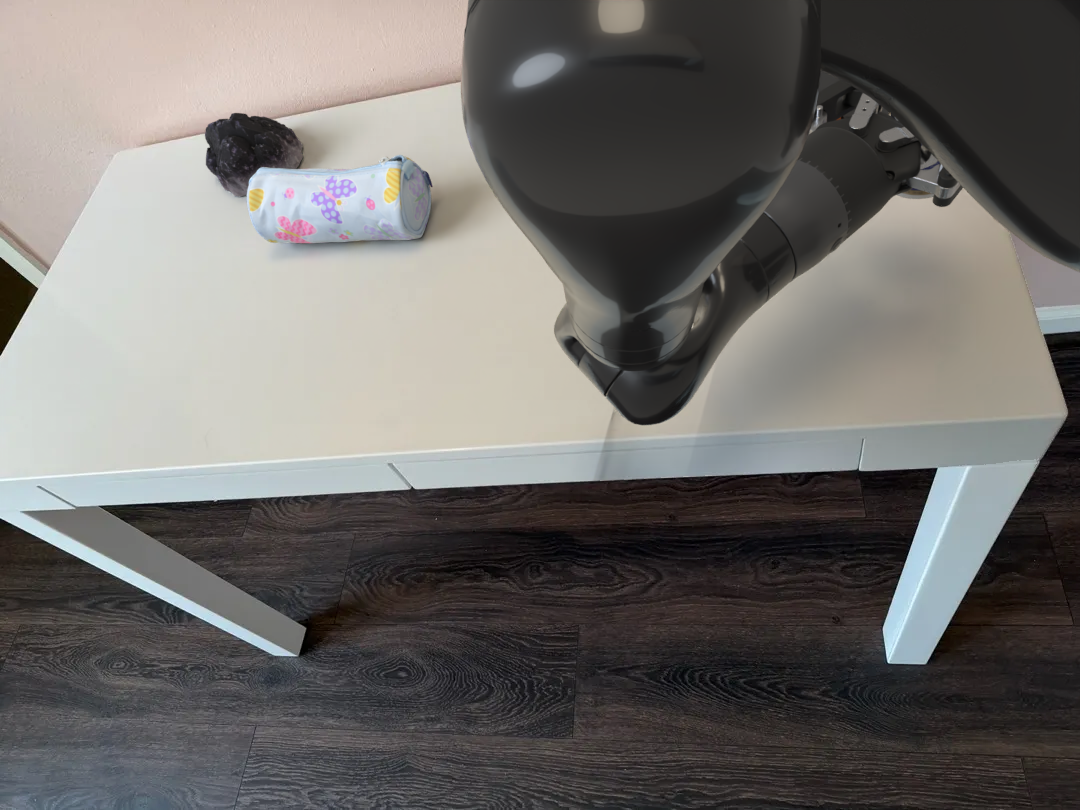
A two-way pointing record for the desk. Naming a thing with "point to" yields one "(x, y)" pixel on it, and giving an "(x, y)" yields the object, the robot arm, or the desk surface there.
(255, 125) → the crystal cluster
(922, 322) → the desk surface
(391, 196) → the pencil case
